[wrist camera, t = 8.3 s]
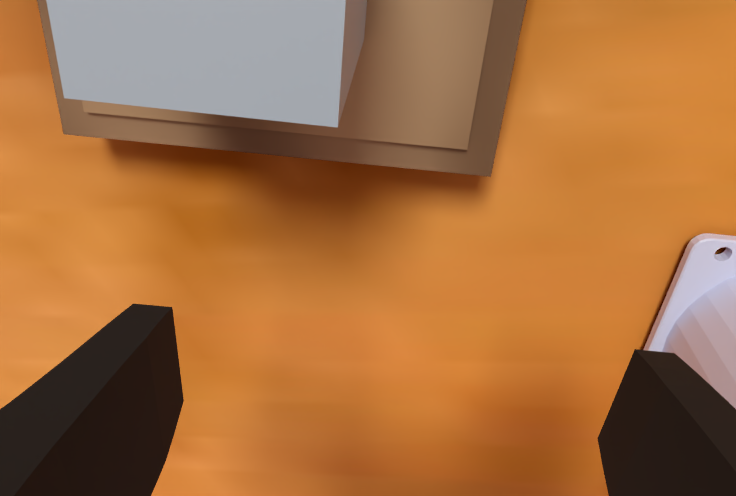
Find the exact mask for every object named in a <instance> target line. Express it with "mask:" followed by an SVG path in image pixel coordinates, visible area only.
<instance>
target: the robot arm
mask: <svg viewBox="0 0 736 496" xmlns="http://www.w3.org/2000/svg"><path fill="white" fill-rule="evenodd" d="M722 247H726V249H725V251H724V252H722V253H720V254H715V252H716V251H717V250H718V249H720V248H722ZM183 401H184V400H183V392H182V384H181V376H180V368H179V359H178V351H177V343H176V335H175V326H174V318H173V310H172V307H164V306H153V305H142V304H132V305H131V306H130V307H128V308H127V309H126V310H125V311H123V312H122V313H121V314H120V315H118V316H117V317H116V318H115V319H113V320H112V321H111V322H110V323H108V324H107V325H106V326H105V327H104V328H102V329H101V330H100V331H99V332H97V333H96V334H95V335H94V336H93V337H91V338H90V339H89V340H88V341H86V342H85V343H84V344H83V345H82V346H80V347H79V348H78V349H77V350H75V351H74V352H73V353H72V354H71V355H69V356H68V357H67V358H66V359H64V360H63V361H62V362H61V363H59V364H58V365H57V366H56V367H54V368H53V369H52V370H51V371H49V372H48V373H47V374H46V375H44V376H43V377H42V378H40V379H39V380H38V381H37V382H35V383H34V384H33V385H32V386H30V387H29V388H28V389H26V390H25V391H24V392H23V393H21V394H20V395H19V396H18V397H16V398H15V399H14V400H12V401H11V402H10V403H8V404H7V405H6V406H4V407H3V408H1V409H0V496H151V494H152V492H153V490H154V487H155V485H156V483H157V480H158V478H159V476H160V473H161V471H162V468H163V466H164V464H165V461H166V458H167V455H168V452H169V449H170V445H171V442H172V439H173V436H174V432H175V429H176V425H177V422H178V418H179V415H180V411H181V408H182V404H183ZM598 442H599V448H600V453H601V459H602V464H603V470H604V475H605V479H606V484H607V489H608V493H609V496H736V236H729V235H719V234H709V233H708V234H701V235H698V236H696V237H694V238H693V239H692V240H691V241H690V242H689V244H688V245H687V247H686V250H685V252H684V254H683V257H682V259H681V262H680V264H679V266H678V269H677V271H676V273H675V276H674V278H673V281H672V283H671V285H670V288H669V290H668V292H667V295H666V297H665V300H664V302H663V304H662V307H661V309H660V311H659V314H658V316H657V318H656V321H655V323H654V326H653V328H652V330H651V333H650V335H649V337H648V340H647V342H646V345H645V347H644V349H643V350H636V349H635V351H634V353H633V355H632V358H631V360H630V363H629V365H628V367H627V370H626V372H625V375H624V377H623V379H622V382H621V384H620V386H619V389H618V391H617V394H616V396H615V398H614V401H613V403H612V406H611V408H610V410H609V413H608V415H607V418H606V420H605V422H604V425H603V427H602V429H601V432H600V434H599V437H598Z"/></svg>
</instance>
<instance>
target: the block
mask: <svg viewBox="0 0 736 496" xmlns="http://www.w3.org/2000/svg"><path fill="white" fill-rule="evenodd" d="M46 2H47V7H48V13H49V18H50V23H51V29H52V34H53V40H54V45H55V51H56V56H57V62H58V67H59V73H60V78H61V84H62V89H63V95H64V98H67V99H76V100H86V101H95V102H104V103H114V104H123V105H132V106H142V107H151V108H160V109H170V110H179V111H188V112H198V113H207V114H216V115H226V116H235V117H244V118H254V119H263V120H272V121H282V122H291V123H300V124H310V125H319V126H328V127H337V128H338V125H339V122H340V118H341V115H342V112H343V108H344V105H345V102H346V98H347V95H348V91H349V88H350V85H351V81H352V78H353V75H354V71H355V68H356V65H357V61H358V58H359V55H360V51H361V48H362V45H363V41H364V33H365V21H366V8H367V0H46Z"/></svg>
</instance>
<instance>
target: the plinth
mask: <svg viewBox="0 0 736 496" xmlns="http://www.w3.org/2000/svg"><path fill="white" fill-rule="evenodd" d="M526 1H527V0H367V8H366V21H365V33H364V41H363V45H362V48H361V51H360V55H359V58H358V61H357V65H356V68H355V71H354V75H353V78H352V81H351V85H350V88H349V91H348V95H347V98H346V102H345V105H344V108H343V112H342V115H341V118H340V122H339V125H338V128H337V127H328V126H319V125H310V124H300V123H291V122H282V121H272V120H263V119H254V118H244V117H235V116H226V115H216V114H207V113H198V112H188V111H179V110H170V109H160V108H151V107H142V106H132V105H123V104H114V103H104V102H95V101H86V100H76V99H67V98H64V95H63V89H62V84H61V78H60V73H59V67H58V62H57V56H56V51H55V45H54V40H53V34H52V29H51V23H50V18H49V13H48V7H47V2H46V0H37V2H38V7H39V12H40V17H41V22H42V27H43V32H44V37H45V42H46V47H47V52H48V57H49V62H50V67H51V72H52V77H53V82H54V87H55V92H56V97H57V102H58V107H59V112H60V117H61V123H62V128H63V133H64V134H67V135H77V136H87V137H97V138H107V139H117V140H127V141H137V142H147V143H157V144H167V145H177V146H187V147H197V148H208V149H218V150H228V151H238V152H248V153H258V154H268V155H278V156H288V157H298V158H308V159H318V160H328V161H338V162H348V163H359V164H369V165H379V166H389V167H399V168H409V169H419V170H429V171H439V172H449V173H459V174H469V175H479V176H489V177H491V173H492V168H493V163H494V158H495V153H496V148H497V143H498V138H499V133H500V128H501V124H502V119H503V114H504V109H505V104H506V99H507V94H508V89H509V84H510V79H511V75H512V70H513V65H514V60H515V55H516V50H517V45H518V40H519V35H520V30H521V26H522V21H523V16H524V11H525V6H526Z"/></svg>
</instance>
